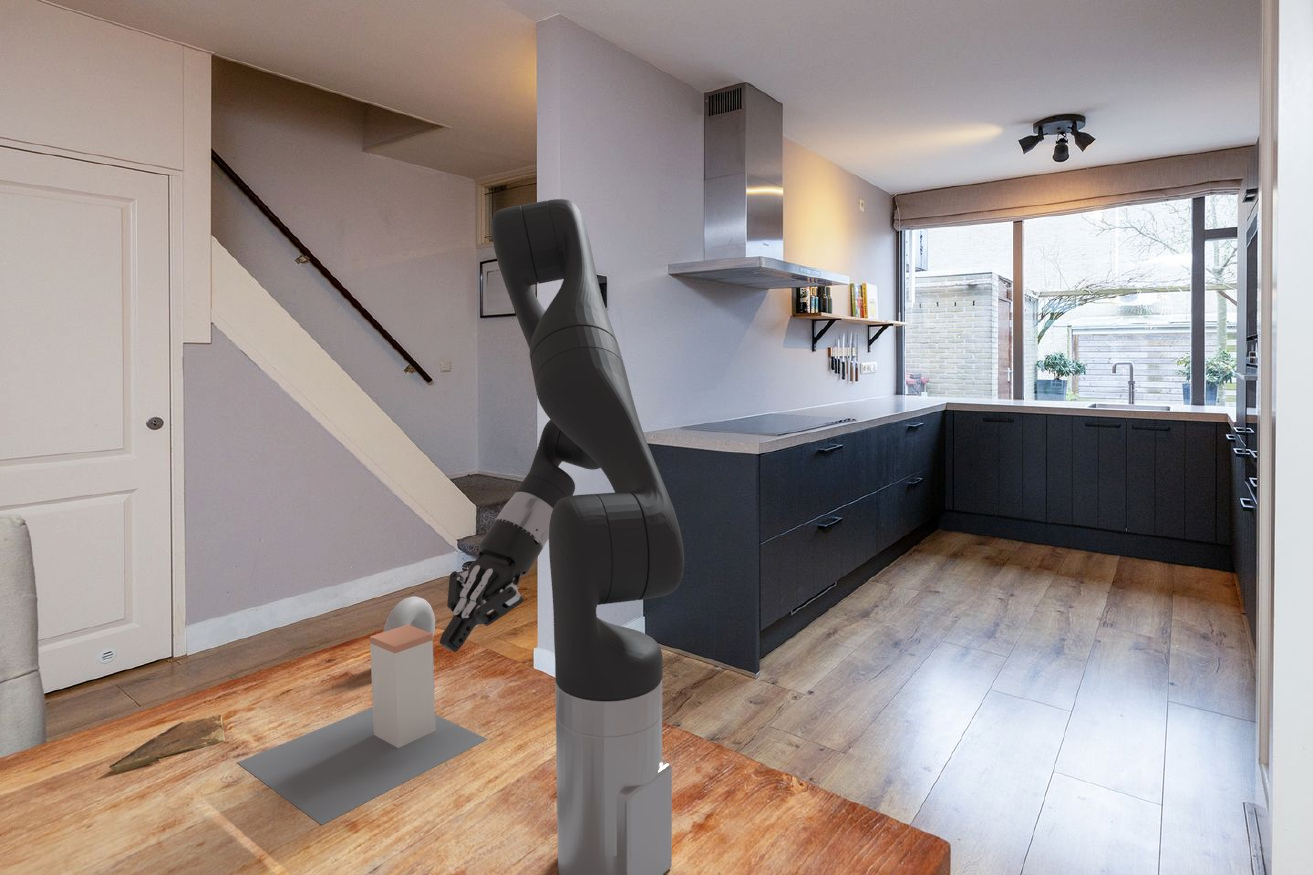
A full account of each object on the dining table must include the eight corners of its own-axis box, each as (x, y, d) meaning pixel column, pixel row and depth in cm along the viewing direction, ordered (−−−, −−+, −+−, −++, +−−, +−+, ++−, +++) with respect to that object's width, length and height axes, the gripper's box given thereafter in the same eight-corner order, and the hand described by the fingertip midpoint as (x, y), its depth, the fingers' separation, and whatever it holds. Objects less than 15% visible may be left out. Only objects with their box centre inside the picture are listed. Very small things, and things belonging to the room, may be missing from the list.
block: (435, 730, 87) (432, 633, 86) (398, 748, 83) (394, 646, 82) (410, 718, 90) (407, 624, 89) (373, 734, 86) (369, 636, 85)
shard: (109, 779, 79) (108, 764, 78) (113, 748, 85) (112, 733, 85) (226, 750, 85) (225, 735, 84) (222, 723, 91) (221, 709, 91)
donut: (398, 678, 102) (396, 610, 101) (378, 675, 103) (375, 607, 102) (440, 652, 112) (438, 589, 111) (421, 649, 113) (419, 586, 112)
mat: (487, 743, 85) (487, 738, 85) (321, 829, 69) (321, 824, 69) (398, 700, 96) (398, 696, 96) (237, 766, 80) (236, 762, 80)
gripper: (472, 511, 101) (396, 621, 92) (538, 524, 93) (462, 646, 84) (502, 541, 105) (433, 649, 97) (568, 556, 97) (499, 674, 89)
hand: (447, 647), depth 91 cm, fingers closed
